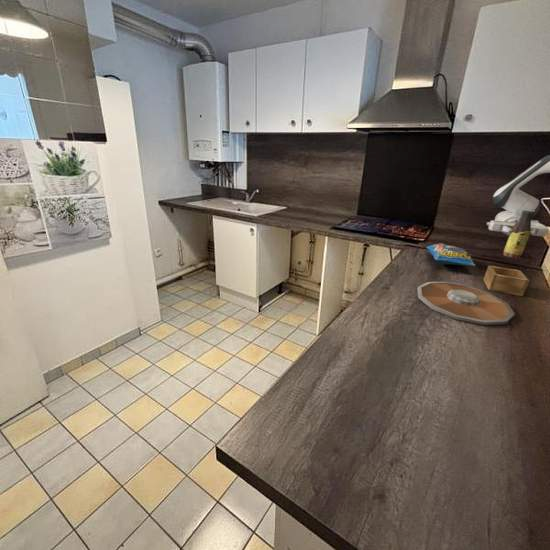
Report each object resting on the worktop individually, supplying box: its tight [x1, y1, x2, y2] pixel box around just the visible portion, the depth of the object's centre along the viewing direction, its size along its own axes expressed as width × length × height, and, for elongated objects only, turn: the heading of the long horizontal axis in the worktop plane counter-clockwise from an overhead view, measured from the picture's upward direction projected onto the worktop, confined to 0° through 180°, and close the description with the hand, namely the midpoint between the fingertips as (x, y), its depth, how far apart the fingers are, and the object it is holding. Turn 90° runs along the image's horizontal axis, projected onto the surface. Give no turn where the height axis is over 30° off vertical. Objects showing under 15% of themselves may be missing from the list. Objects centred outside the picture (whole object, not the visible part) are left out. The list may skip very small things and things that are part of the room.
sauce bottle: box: [502, 210, 536, 259], centre depth 122 cm, size 6×6×20 cm
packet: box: [426, 242, 476, 267], centre depth 139 cm, size 17×24×8 cm
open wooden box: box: [483, 265, 530, 297], centre depth 116 cm, size 11×11×7 cm
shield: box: [416, 281, 516, 327], centre depth 103 cm, size 30×3×30 cm
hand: (521, 232), depth 120 cm, fingers closed on sauce bottle, 6 cm apart
